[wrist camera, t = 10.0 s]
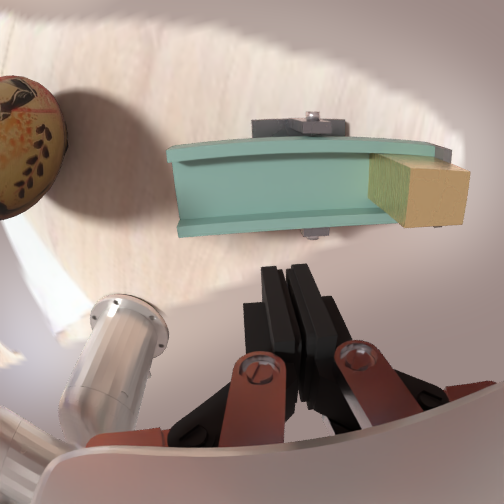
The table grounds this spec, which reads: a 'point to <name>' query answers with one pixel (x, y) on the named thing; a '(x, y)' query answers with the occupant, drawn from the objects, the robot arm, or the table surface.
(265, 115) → the table surface
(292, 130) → the pivot stand
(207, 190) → the balance beam
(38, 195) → the ceramic jug
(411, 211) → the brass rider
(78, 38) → the table surface
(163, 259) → the table surface
